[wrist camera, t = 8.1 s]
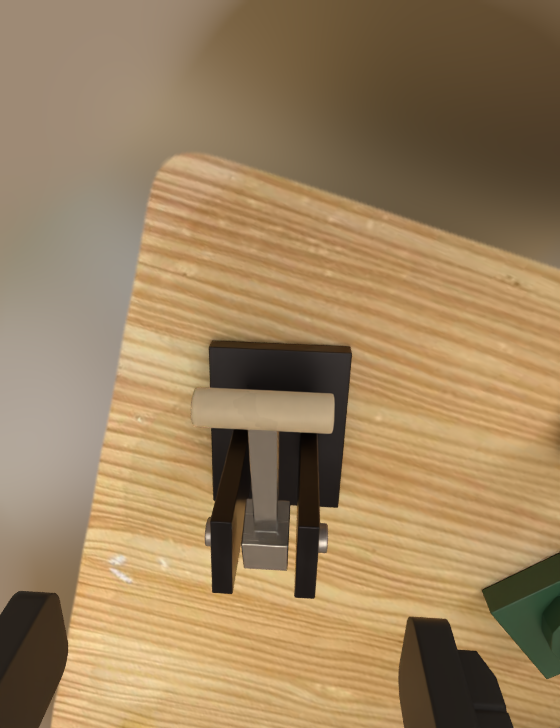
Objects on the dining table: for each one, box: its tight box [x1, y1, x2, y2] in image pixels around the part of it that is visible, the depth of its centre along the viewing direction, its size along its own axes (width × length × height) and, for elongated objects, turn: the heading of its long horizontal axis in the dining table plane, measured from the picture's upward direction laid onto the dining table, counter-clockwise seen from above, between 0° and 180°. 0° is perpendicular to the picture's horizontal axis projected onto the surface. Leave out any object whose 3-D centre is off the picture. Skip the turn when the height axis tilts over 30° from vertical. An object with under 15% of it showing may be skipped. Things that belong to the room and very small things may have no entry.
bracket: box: [205, 341, 352, 599], centre depth 30 cm, size 12×9×13 cm
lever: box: [191, 387, 335, 571], centre depth 23 cm, size 12×5×2 cm, turn 178°
